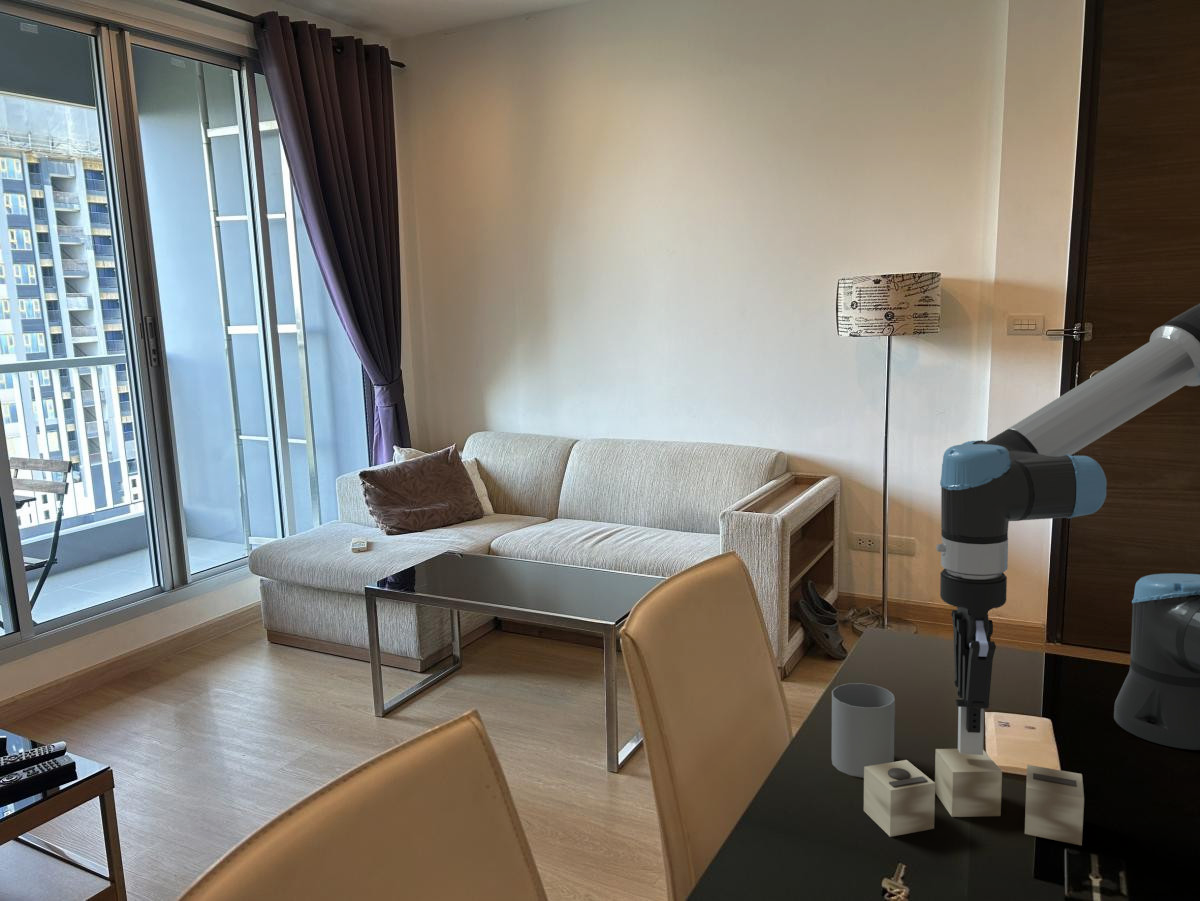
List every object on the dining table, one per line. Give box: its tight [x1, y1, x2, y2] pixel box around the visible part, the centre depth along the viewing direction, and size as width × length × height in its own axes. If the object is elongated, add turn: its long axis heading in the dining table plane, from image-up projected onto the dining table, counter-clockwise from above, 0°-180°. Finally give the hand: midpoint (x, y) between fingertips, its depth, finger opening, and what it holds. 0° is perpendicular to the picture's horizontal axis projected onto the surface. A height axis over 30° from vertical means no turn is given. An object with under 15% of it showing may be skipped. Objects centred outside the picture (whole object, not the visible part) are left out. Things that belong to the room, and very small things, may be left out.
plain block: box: [934, 748, 1003, 818], centre depth 112 cm, size 6×6×6 cm
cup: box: [831, 682, 896, 779], centre depth 123 cm, size 8×8×10 cm
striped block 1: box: [863, 759, 936, 838], centre depth 109 cm, size 6×6×6 cm
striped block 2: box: [1024, 764, 1085, 846], centre depth 106 cm, size 6×6×6 cm
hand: (970, 751), depth 111 cm, fingers closed
